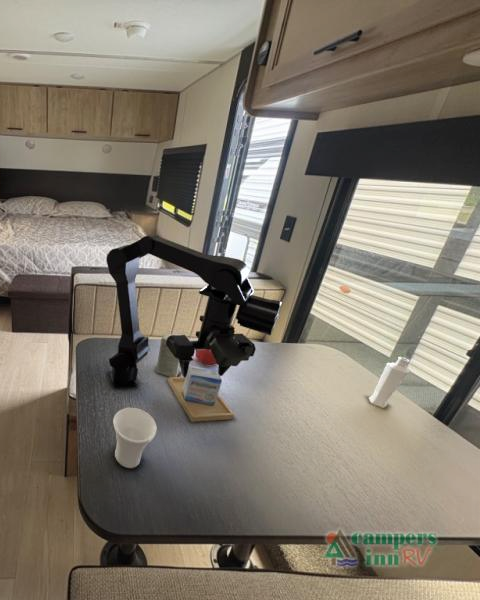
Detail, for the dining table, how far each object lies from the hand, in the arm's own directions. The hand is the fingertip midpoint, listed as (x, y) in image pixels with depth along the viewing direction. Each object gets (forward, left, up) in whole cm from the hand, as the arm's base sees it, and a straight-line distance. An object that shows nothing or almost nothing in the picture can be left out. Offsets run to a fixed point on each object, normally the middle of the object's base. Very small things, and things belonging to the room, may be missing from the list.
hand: (202, 375), depth 71 cm
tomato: (+16, +22, -13) cm, 30 cm away
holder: (+5, +6, -13) cm, 15 cm away
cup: (-19, -10, -13) cm, 25 cm away
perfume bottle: (+57, +1, -13) cm, 59 cm away
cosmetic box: (+1, +18, -13) cm, 22 cm away
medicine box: (+5, +6, -13) cm, 15 cm away
